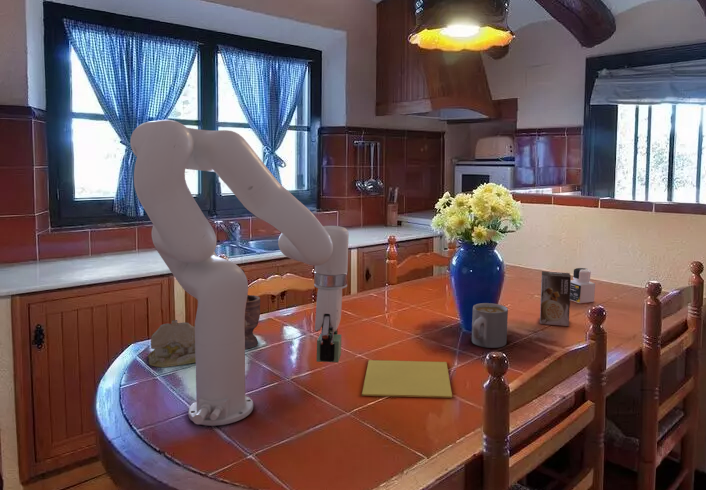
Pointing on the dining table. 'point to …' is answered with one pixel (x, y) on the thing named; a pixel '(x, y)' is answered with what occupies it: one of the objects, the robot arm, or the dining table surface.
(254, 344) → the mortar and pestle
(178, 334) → the ceramic model
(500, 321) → the coffee mug
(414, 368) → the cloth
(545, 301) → the coffee box
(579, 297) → the medicine bottle
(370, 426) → the dining table surface
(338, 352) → the toy block
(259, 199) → the robot arm
